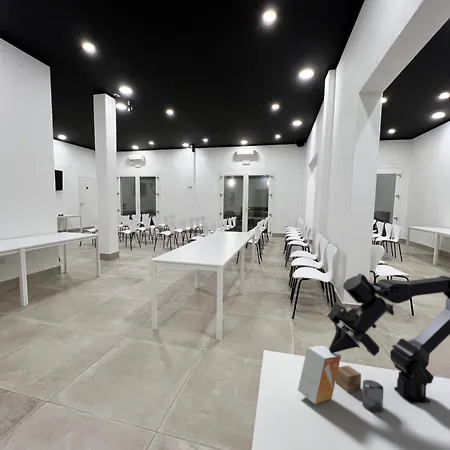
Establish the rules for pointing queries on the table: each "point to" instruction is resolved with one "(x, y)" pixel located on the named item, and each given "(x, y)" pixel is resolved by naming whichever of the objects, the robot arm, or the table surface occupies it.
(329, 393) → the small box
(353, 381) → the walnut block
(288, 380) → the table surface
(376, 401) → the charcoal metal cylinder
